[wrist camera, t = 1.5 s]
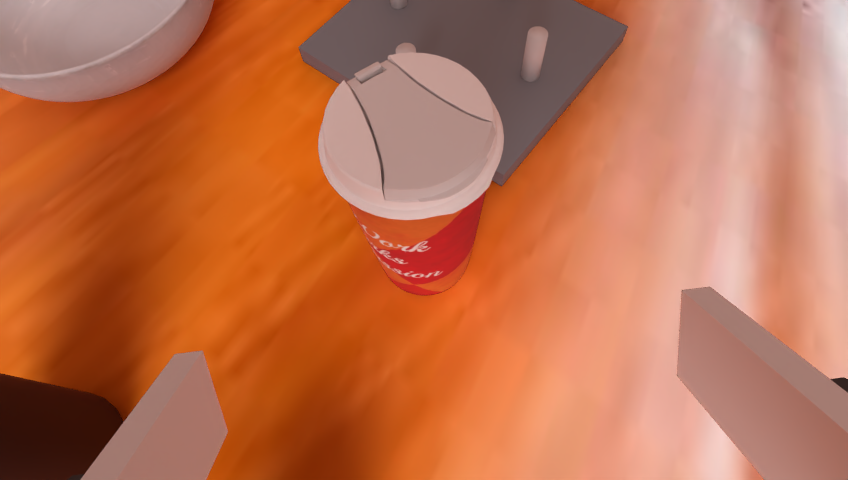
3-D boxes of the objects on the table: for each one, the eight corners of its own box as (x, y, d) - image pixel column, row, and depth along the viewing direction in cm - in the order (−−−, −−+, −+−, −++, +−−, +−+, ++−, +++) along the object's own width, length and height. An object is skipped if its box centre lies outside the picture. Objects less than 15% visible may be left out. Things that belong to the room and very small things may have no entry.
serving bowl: (269, -37, 48) (241, -112, 42) (192, 151, 40) (144, 91, 34) (67, -51, 51) (12, -125, 44) (-45, 123, 42) (-132, 62, 36)
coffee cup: (343, 241, 36) (276, 100, 22) (440, 181, 38) (433, 15, 24) (409, 339, 33) (378, 244, 19) (512, 269, 35) (550, 136, 21)
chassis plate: (303, 60, 43) (283, 6, 38) (429, -54, 48) (427, -115, 43) (501, 186, 37) (509, 141, 32) (622, 41, 42) (645, -18, 37)
